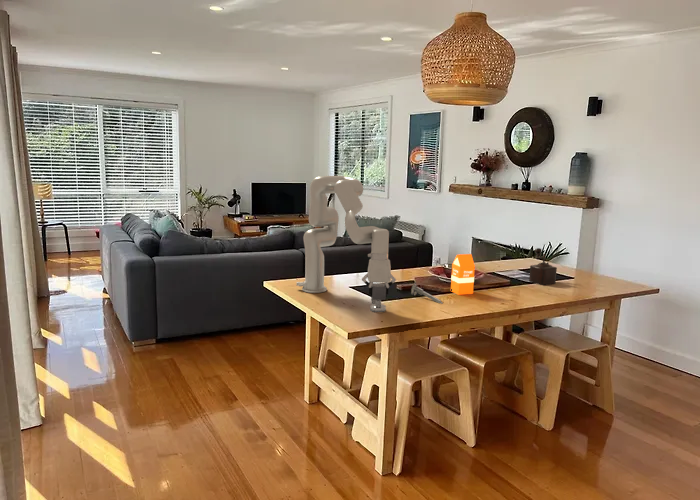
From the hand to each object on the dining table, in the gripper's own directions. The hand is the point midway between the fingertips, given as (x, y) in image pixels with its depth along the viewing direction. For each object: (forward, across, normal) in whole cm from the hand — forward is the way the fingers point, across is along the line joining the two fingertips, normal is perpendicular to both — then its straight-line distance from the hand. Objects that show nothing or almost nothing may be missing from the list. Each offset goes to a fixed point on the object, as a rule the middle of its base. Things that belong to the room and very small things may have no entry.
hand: (378, 295), depth 243 cm
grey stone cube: (+1, 0, 0) cm, 1 cm away
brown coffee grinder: (+7, +98, +58) cm, 114 cm away
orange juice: (+7, +47, +33) cm, 58 cm away
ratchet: (+7, 0, +7) cm, 10 cm away
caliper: (+7, +26, +20) cm, 34 cm away
